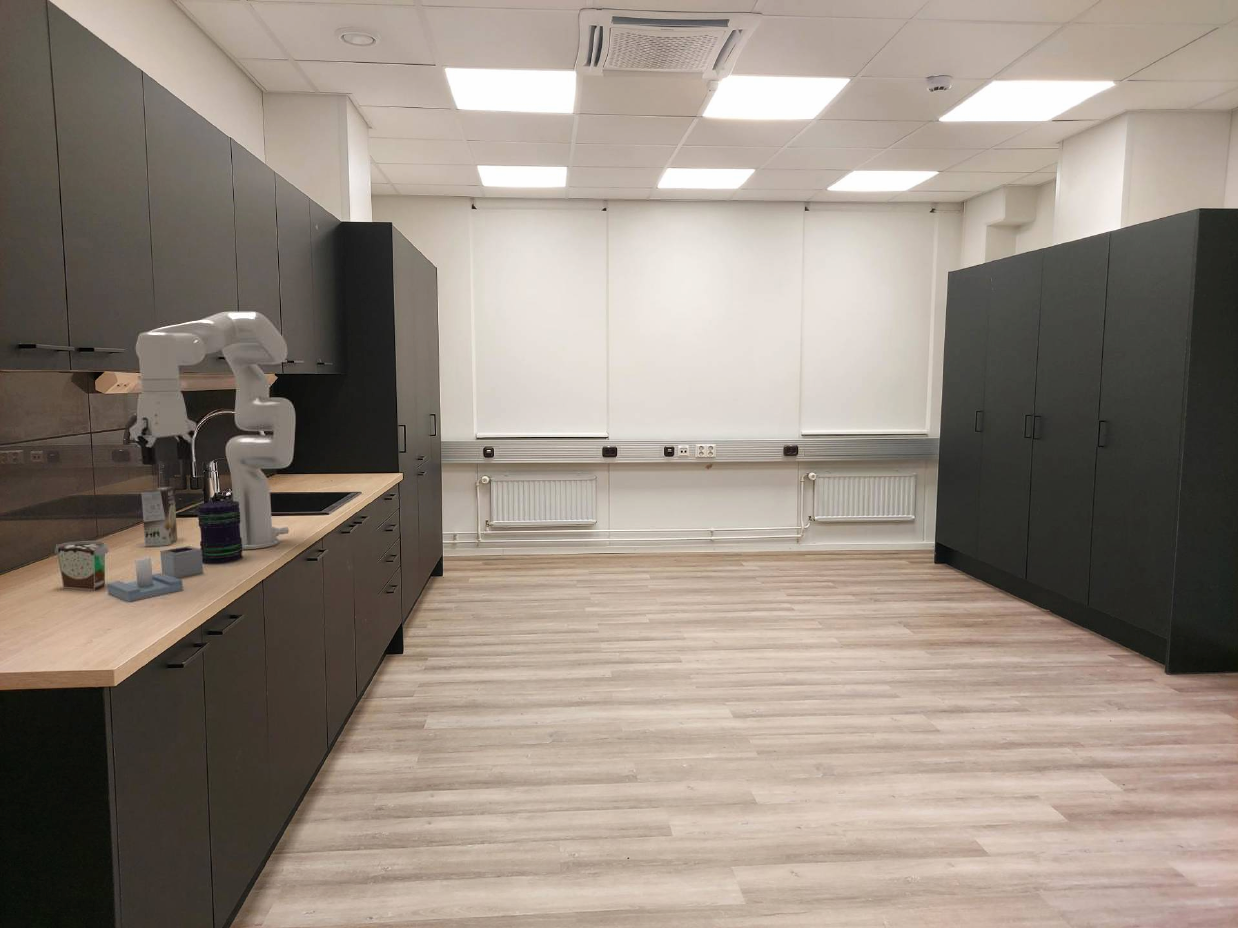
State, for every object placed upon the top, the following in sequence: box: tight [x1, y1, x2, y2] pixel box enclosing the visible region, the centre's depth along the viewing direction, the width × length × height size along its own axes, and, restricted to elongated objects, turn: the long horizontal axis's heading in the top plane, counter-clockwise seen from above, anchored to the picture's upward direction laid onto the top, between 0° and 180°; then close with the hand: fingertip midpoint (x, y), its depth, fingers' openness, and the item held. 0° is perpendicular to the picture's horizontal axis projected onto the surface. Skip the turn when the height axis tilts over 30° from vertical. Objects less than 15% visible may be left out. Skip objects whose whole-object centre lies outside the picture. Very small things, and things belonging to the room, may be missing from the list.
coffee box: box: [140, 486, 178, 547], centre depth 219 cm, size 9×6×16 cm
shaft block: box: [106, 557, 184, 603], centre depth 169 cm, size 11×11×8 cm
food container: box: [54, 540, 109, 591], centre depth 174 cm, size 12×6×10 cm, turn 74°
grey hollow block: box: [159, 545, 204, 579], centre depth 184 cm, size 7×7×6 cm
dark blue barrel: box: [197, 500, 244, 565], centre depth 198 cm, size 10×10×15 cm
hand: (167, 461), depth 173 cm, fingers open, 9 cm apart
